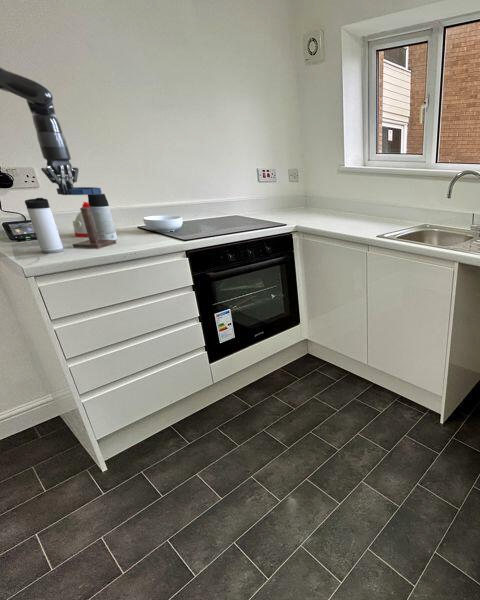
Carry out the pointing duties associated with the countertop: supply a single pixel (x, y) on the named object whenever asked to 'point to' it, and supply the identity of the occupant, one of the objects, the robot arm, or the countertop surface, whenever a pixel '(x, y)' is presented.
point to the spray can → (102, 217)
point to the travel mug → (44, 225)
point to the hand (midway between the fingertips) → (68, 194)
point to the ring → (82, 191)
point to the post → (91, 233)
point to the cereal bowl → (163, 223)
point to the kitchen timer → (81, 223)
